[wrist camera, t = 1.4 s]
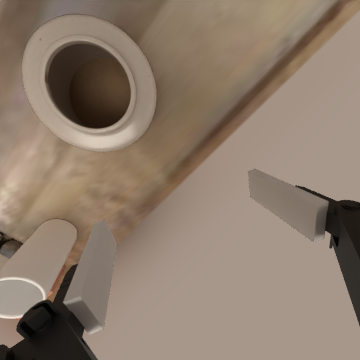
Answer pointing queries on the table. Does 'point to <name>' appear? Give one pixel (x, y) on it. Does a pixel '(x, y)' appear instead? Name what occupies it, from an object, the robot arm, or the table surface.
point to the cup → (35, 267)
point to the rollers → (9, 248)
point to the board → (3, 260)
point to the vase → (89, 82)
